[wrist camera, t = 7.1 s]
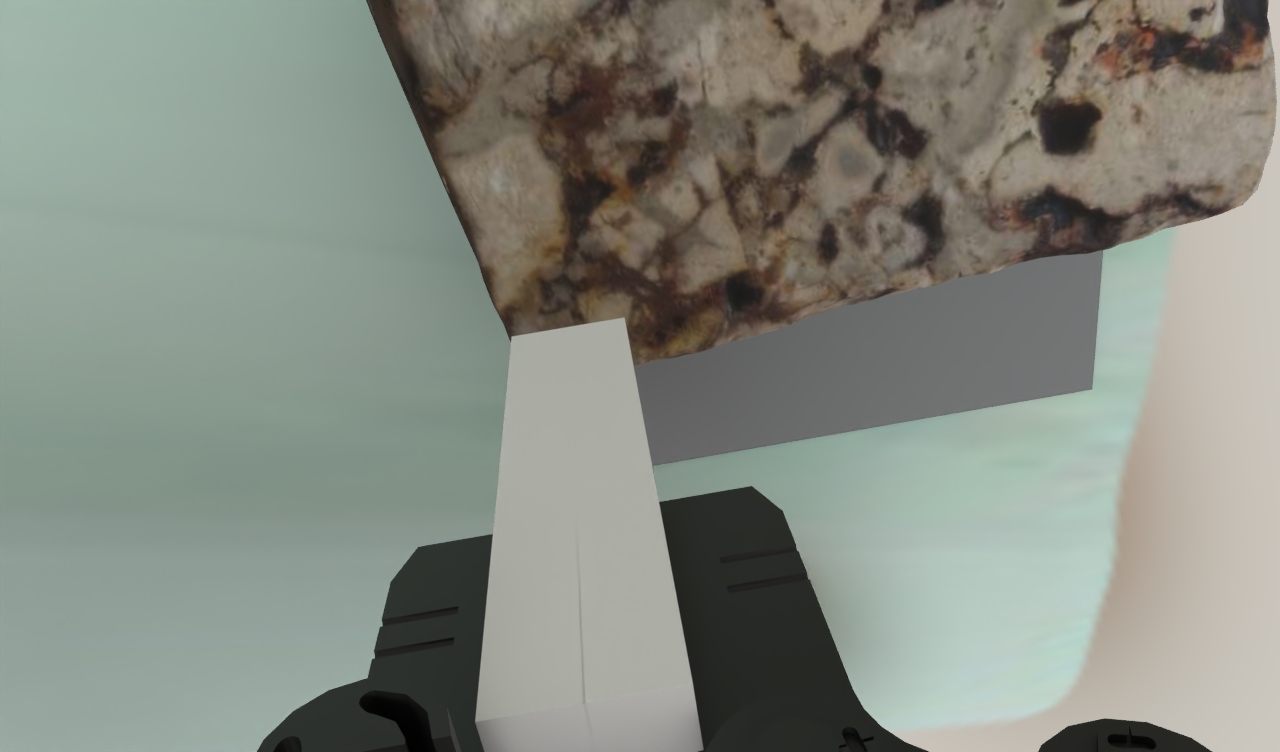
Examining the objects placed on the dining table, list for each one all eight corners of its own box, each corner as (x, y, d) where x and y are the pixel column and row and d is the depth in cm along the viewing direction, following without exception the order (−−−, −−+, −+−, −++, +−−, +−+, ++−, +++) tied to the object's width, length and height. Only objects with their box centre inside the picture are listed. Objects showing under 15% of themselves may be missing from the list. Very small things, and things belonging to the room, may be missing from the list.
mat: (576, 472, 32) (577, 478, 32) (416, -292, 23) (414, -295, 22) (1086, 384, 33) (1092, 389, 32) (1145, -410, 23) (1155, -415, 22)
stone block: (537, 317, 31) (1142, 131, 29) (528, 435, 25) (1289, 211, 23) (360, -110, 24) (1129, -390, 22) (290, -87, 18) (1331, -467, 16)
